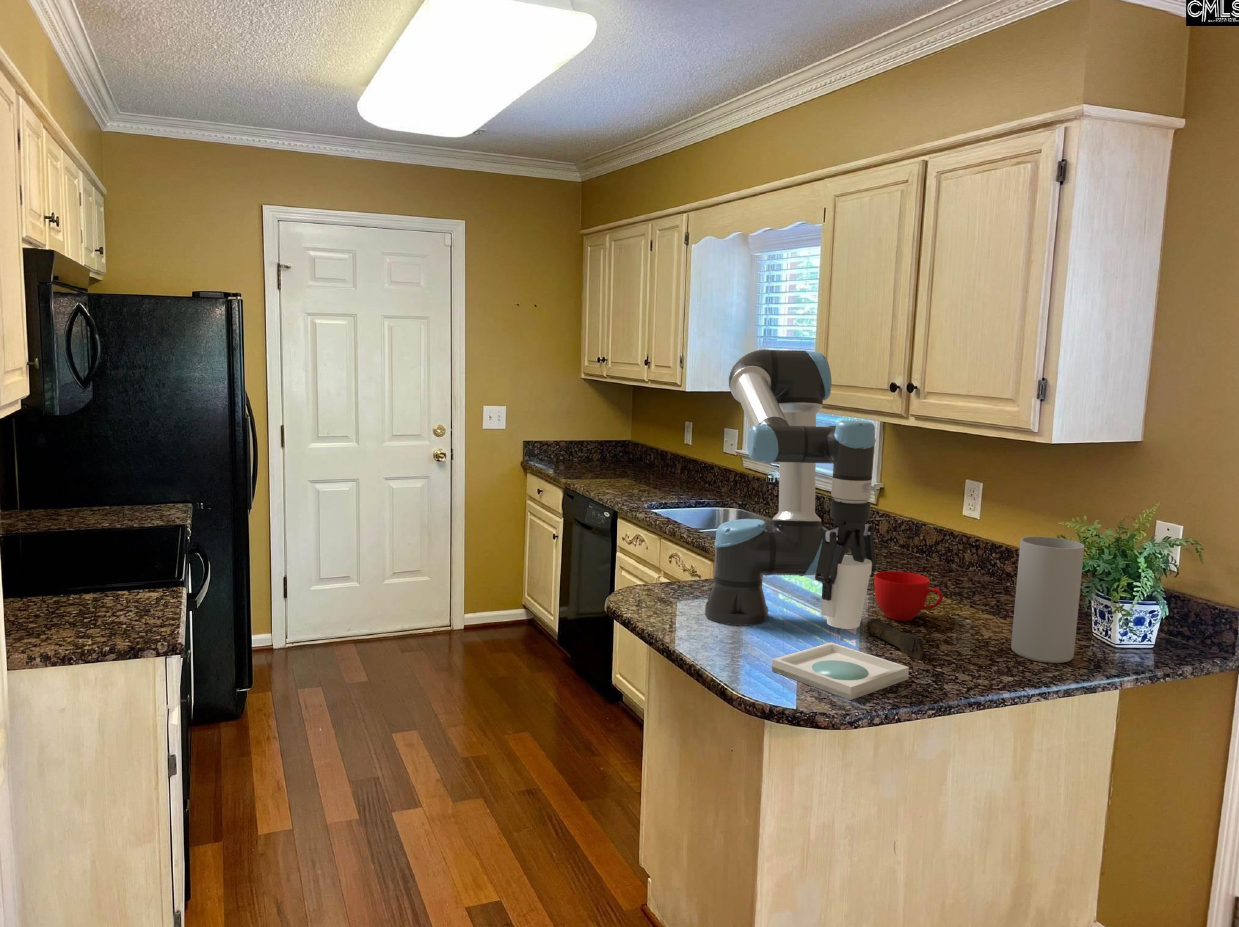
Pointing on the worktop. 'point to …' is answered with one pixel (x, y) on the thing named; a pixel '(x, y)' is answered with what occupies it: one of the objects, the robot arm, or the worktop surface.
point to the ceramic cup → (902, 594)
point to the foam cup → (850, 592)
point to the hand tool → (897, 638)
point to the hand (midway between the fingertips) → (843, 611)
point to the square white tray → (840, 670)
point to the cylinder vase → (1047, 599)
